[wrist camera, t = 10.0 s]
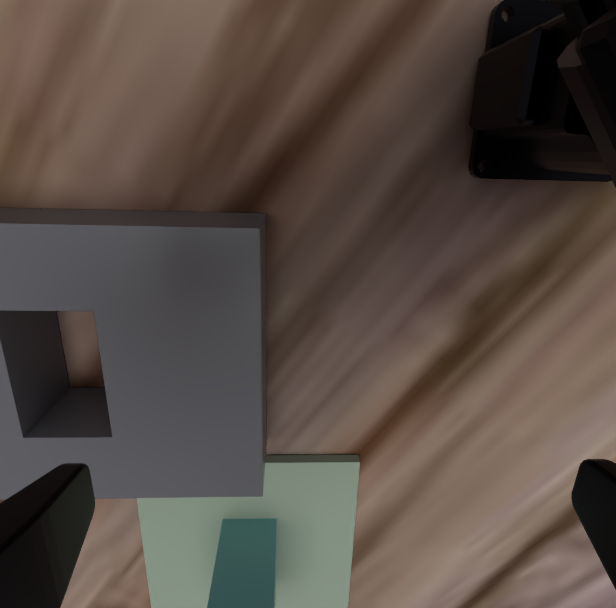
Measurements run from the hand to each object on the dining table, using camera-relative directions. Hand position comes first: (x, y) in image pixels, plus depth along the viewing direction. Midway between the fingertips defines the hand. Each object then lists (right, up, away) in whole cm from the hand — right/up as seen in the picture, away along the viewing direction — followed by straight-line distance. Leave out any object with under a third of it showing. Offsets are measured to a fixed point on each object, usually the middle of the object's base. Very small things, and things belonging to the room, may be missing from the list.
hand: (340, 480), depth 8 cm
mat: (-4, -11, +17) cm, 21 cm away
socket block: (-11, +2, +13) cm, 17 cm away
